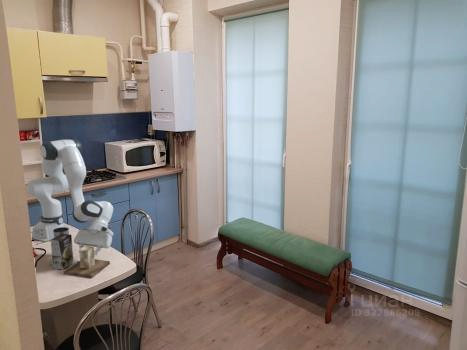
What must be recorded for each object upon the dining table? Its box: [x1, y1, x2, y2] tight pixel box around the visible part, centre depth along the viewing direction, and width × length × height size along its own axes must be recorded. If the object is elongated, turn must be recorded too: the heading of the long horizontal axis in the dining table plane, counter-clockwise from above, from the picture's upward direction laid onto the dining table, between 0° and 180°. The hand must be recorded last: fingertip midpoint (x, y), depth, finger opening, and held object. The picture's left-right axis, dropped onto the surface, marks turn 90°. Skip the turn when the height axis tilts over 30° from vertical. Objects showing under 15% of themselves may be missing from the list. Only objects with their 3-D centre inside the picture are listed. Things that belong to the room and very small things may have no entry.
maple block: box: [78, 245, 95, 269], centre depth 189 cm, size 5×5×10 cm
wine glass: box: [53, 226, 70, 238], centre depth 205 cm, size 8×8×15 cm
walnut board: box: [64, 258, 111, 279], centre depth 191 cm, size 16×16×2 cm
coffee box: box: [50, 233, 74, 270], centre depth 192 cm, size 9×6×16 cm
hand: (87, 253), depth 189 cm, fingers open, 7 cm apart
